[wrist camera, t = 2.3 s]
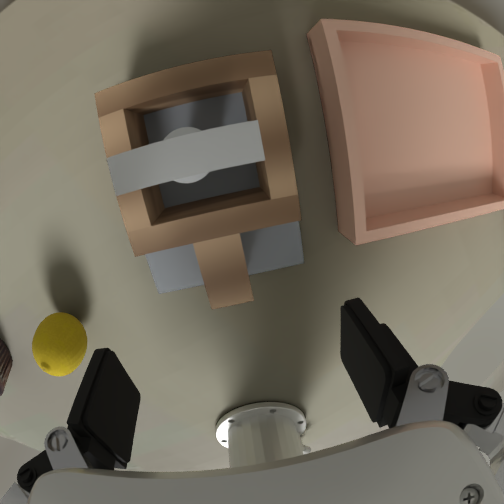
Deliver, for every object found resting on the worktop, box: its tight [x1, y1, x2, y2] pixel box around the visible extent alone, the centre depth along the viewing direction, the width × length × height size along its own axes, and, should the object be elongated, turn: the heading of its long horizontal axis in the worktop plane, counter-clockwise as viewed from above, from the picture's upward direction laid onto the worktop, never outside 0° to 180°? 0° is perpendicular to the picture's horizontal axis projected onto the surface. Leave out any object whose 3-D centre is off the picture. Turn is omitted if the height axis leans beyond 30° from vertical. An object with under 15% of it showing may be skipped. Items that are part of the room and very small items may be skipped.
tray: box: [306, 19, 504, 245], centre depth 21 cm, size 23×18×4 cm
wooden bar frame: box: [95, 50, 301, 309], centre depth 19 cm, size 16×11×5 cm
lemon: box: [32, 312, 87, 376], centre depth 22 cm, size 6×6×8 cm
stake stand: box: [107, 92, 304, 294], centre depth 17 cm, size 17×13×12 cm
